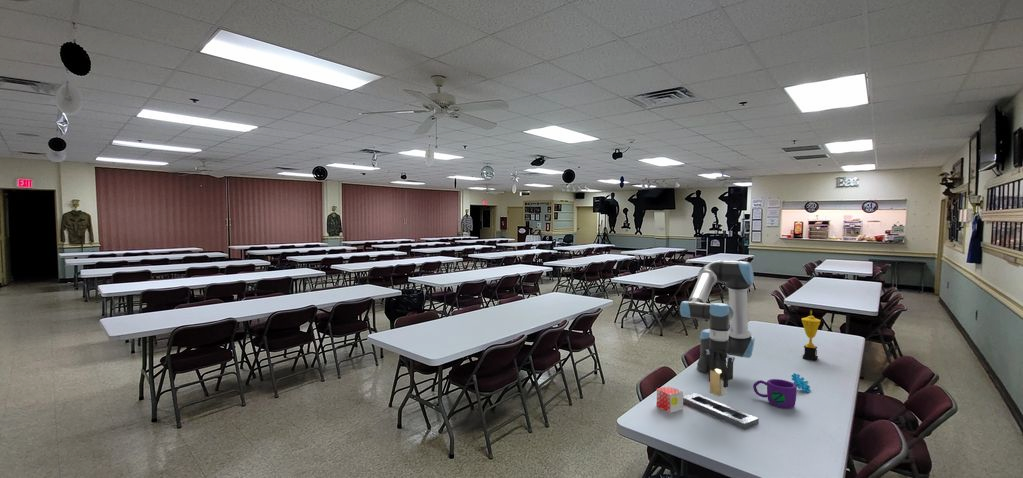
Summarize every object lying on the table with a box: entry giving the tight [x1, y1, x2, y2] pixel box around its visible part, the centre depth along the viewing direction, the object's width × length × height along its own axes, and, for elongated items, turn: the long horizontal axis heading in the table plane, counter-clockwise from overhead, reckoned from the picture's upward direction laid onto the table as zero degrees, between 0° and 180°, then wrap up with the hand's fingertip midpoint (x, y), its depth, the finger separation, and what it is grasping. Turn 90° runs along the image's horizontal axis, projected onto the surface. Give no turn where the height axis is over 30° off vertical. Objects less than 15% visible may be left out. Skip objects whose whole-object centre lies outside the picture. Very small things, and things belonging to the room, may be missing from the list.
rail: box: [683, 392, 760, 431], centre depth 184 cm, size 30×10×2 cm, turn 29°
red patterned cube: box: [656, 385, 684, 414], centre depth 189 cm, size 8×8×8 cm
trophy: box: [801, 310, 821, 362], centre depth 258 cm, size 19×10×30 cm, turn 138°
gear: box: [790, 372, 811, 394], centre depth 210 cm, size 11×6×10 cm
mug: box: [752, 378, 798, 410], centre depth 194 cm, size 17×11×10 cm, turn 45°
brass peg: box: [709, 369, 727, 397], centre depth 183 cm, size 4×4×10 cm
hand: (718, 392), depth 184 cm, fingers closed on brass peg, 4 cm apart
